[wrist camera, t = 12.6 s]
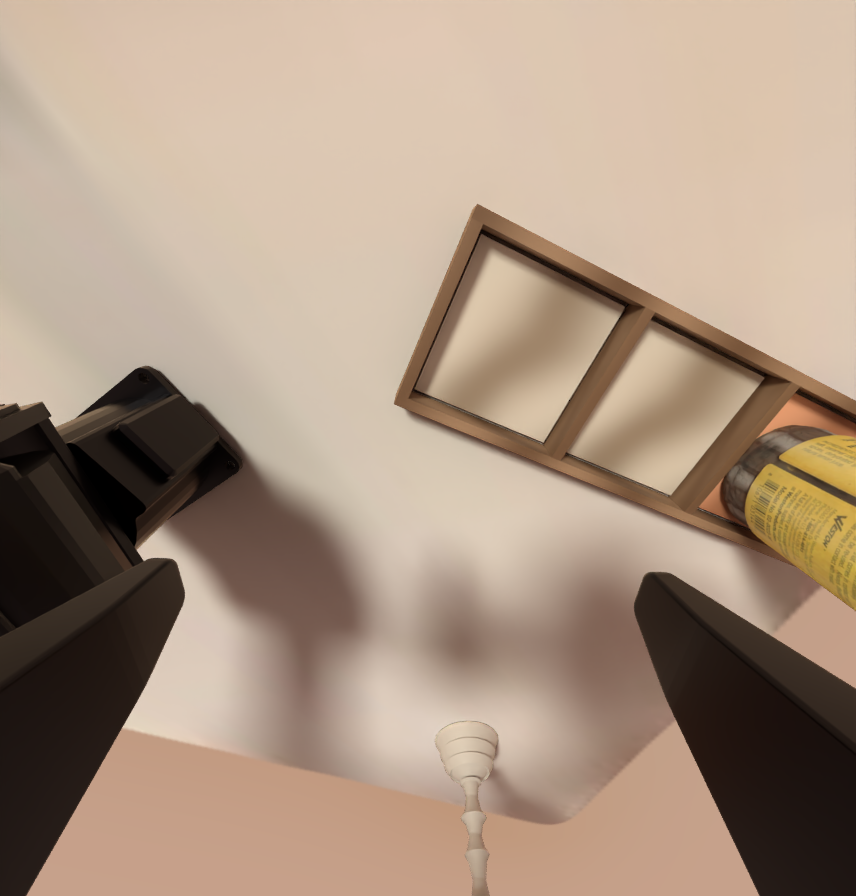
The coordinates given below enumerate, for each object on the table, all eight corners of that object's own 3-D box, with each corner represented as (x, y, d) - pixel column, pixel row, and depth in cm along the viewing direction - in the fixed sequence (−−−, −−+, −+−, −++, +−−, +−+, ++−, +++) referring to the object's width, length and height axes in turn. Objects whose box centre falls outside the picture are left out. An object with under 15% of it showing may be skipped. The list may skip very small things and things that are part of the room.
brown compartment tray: (395, 394, 20) (394, 404, 18) (472, 209, 16) (477, 203, 15) (778, 551, 24) (800, 568, 23) (899, 429, 21) (933, 441, 19)
